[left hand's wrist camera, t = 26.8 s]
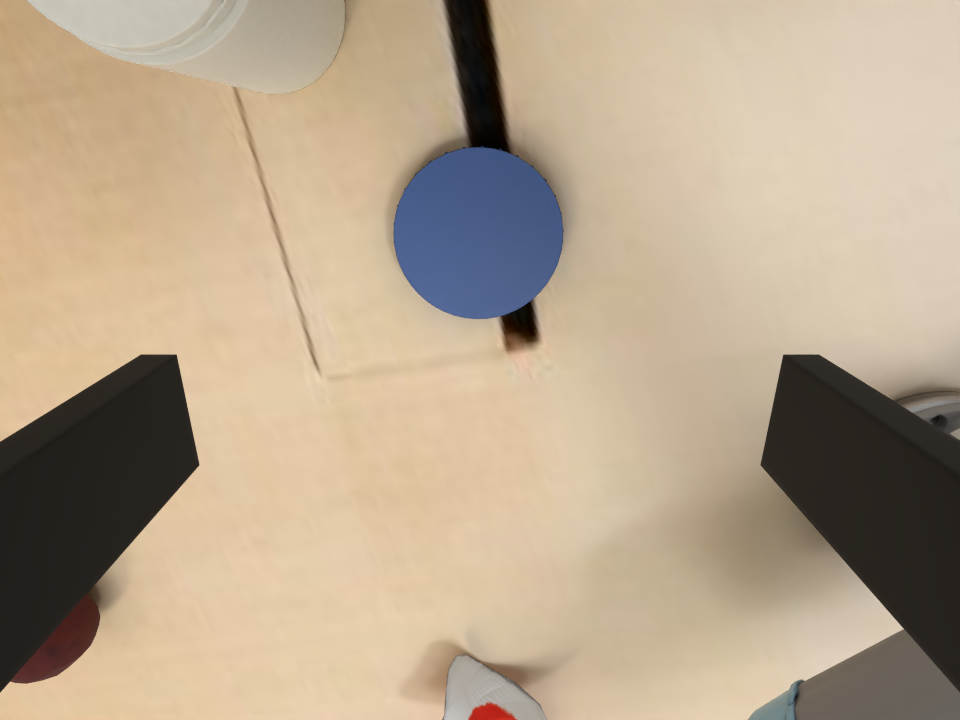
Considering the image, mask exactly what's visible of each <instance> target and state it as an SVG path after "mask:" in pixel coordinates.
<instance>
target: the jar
mask: <svg viewBox="0 0 960 720" xmlns="http://www.w3.org/2000/svg"><path fill="white" fill-rule="evenodd" d="M27 1H28V2H29V3H30V4H31V5H32V6H33V7H34V8H35V9H37V10H38V11H39V12H40V13H41V14H43V15H44V16H45V17H46V18H48V19H49V20H51V21H52V22H54V23H55V24H57V25H58V26H60V27H61V28H63V29H64V30H66V31H68V32H70V33H72V34H73V35H74V36H75V37H77V38H78V39H80V40H81V41H83V42H84V43H86V44H87V45H89V46H91V47H93V48H95V49H97V50H98V51H100V52H102V53H104V54H106V55H109V56H112V57H115V58H117V59H120V60H123V61H127V62H132V63H136V64H140V65H144V66H149V67H153V68H157V69H161V70H166V71H170V72H174V73H178V74H182V75H187V76H191V77H195V78H199V79H204V80H208V81H212V82H216V83H221V84H225V85H229V86H233V87H237V88H242V89H246V90H250V91H254V92H259V93H263V94H286V93H291V92H295V91H297V90H300V89H303V88H304V87H306V86H308V85H310V84H312V83H313V82H314V81H315V80H317V79H318V78H319V77H320V76H321V75H322V74H323V73H324V72H325V71H326V70H327V68H328V67H329V66H330V64H331V63H332V61H333V60H334V58H335V56H336V54H337V52H338V49H339V47H340V44H341V41H342V37H343V32H344V25H345V1H344V0H27Z"/></svg>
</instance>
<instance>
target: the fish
mask: <svg viewBox="0 0 960 720" xmlns="http://www.w3.org/2000/svg"><path fill="white" fill-rule="evenodd" d="M442 720H547V718H546V716H545V714H544V712H543V710H542V708H541V706H540V704H539V703H538V702H537V701H535V700H534V699H533V698H532V697H531V696H530V695H529V694H528V693H527V692H525V691H524V690H523V689H522V688H521V687H520V686H519V685H518V684H517V683H515V682H513V681H512V680H510V679H508V678H507V677H505V676H503V675H502V674H500V673H498V672H496V671H494V670H493V669H491V668H489V667H487V666H485V665H483V664H482V663H480V662H479V661H477V660H476V659H474V658H472V657H469V656H467V655H458V656H456V657H455V658H454V660H453V662H452V663H451V665H450V667H449V671H448V676H447V687H446V697H445V713H444V717H443V719H442Z"/></svg>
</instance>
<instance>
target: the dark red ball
mask: <svg viewBox="0 0 960 720" xmlns="http://www.w3.org/2000/svg"><path fill="white" fill-rule="evenodd" d="M99 621H100V614H99V610H98V607H97V605H96V603H95V601H94V600H93V599H92V598H91V596H90V595H89V594H86V595H85V596H84V597H83V599H82V600H81V601H80V602H79V603H78V604H77V605H76V607H75V608H74V609H73V610H72V611H71V612H70V613H69V615H68V616H67V617H66V618H65V619H64V620H63V621H62V623H61V624H60V625H59V626H58V627H57V628H56V629H55V631H54V632H53V633H52V634H51V635H50V636H49V637H48V639H47V640H46V641H45V642H44V643H43V644H42V645H41V647H40V648H39V649H38V650H37V651H36V652H35V653H34V654H33V656H32V657H31V658H30V659H29V660H28V661H27V662H26V664H25V665H24V666H23V667H22V668H21V669H20V670H19V672H18V673H17V674H16V675H15V676H14V677H13V678H12V680H11V682H14V683H26V684H27V683H32V682H37V681H42V680H45V679H48V678H51V677H54V676H57V675H58V674H60V673H61V672H63V671H64V670H65V669H67V668H68V667H69V666H70V665H71V664H73V663H74V662H75V661H76V660H77V659H78V658H79V657H80V656H81V655H82V654H83V653H84V652H85V651H86V650H87V649H88V648H89V647H90V645H91V644H92V642H93V640H94V637H95V635H96V632H97V629H98V626H99Z"/></svg>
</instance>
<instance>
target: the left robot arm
mask: <svg viewBox="0 0 960 720" xmlns="http://www.w3.org/2000/svg"><path fill="white" fill-rule="evenodd" d="M198 466H199V461H198V456H197V451H196V446H195V442H194V437H193V432H192V427H191V422H190V417H189V412H188V408H187V403H186V398H185V393H184V388H183V383H182V379H181V374H180V369H179V364H178V359H177V355H140V356H138V357H137V358H135V359H133V360H132V361H130V362H128V363H127V364H125V365H124V366H122V367H120V368H119V369H117V370H116V371H114V372H112V373H111V374H109V375H107V376H106V377H104V378H103V379H101V380H99V381H98V382H96V383H95V384H93V385H91V386H90V387H88V388H86V389H85V390H83V391H82V392H80V393H78V394H77V395H75V396H74V397H72V398H70V399H69V400H67V401H66V402H64V403H62V404H61V405H59V406H57V407H56V408H54V409H53V410H51V411H49V412H48V413H46V414H45V415H43V416H41V417H40V418H38V419H36V420H35V421H33V422H32V423H30V424H28V425H27V426H25V427H24V428H22V429H20V430H19V431H17V432H15V433H14V434H12V435H11V436H9V437H7V438H6V439H4V440H3V441H1V442H0V692H1V691H2V690H3V689H4V688H5V686H6V685H7V684H8V683H9V682H10V681H11V680H12V678H13V677H14V676H15V675H16V674H17V673H18V672H19V670H20V669H21V668H22V667H23V666H24V665H25V664H26V662H27V661H28V660H29V659H30V658H31V657H32V656H33V654H34V653H35V652H36V651H37V650H38V649H39V648H40V647H41V645H42V644H43V643H44V642H45V641H46V640H47V639H48V637H49V636H50V635H51V634H52V633H53V632H54V631H55V629H56V628H57V627H58V626H59V625H60V624H61V623H62V621H63V620H64V619H65V618H66V617H67V616H68V615H69V613H70V612H71V611H72V610H73V609H74V608H75V607H76V605H77V604H78V603H79V602H80V601H81V600H82V599H83V597H84V596H85V595H86V594H87V593H88V592H89V591H90V589H91V588H92V587H93V586H94V585H95V584H96V583H97V581H98V580H99V579H100V578H101V577H102V576H103V575H104V573H105V572H106V571H107V570H108V569H109V568H110V567H111V565H112V564H113V563H114V562H115V561H116V560H117V559H118V557H119V556H120V555H121V554H122V553H123V552H124V551H125V549H126V548H127V547H128V546H129V545H130V544H131V543H132V541H133V540H134V539H135V538H136V537H137V536H138V535H139V533H140V532H141V531H142V530H143V529H144V528H145V527H146V526H147V524H148V523H149V522H150V521H151V520H152V519H153V518H154V516H155V515H156V514H157V513H158V512H159V511H160V510H161V508H162V507H163V506H164V505H165V504H166V503H167V502H168V500H169V499H170V498H171V497H172V496H173V495H174V494H175V492H176V491H177V490H178V489H179V488H180V487H181V486H182V484H183V483H184V482H185V481H186V480H187V479H188V478H189V476H190V475H191V474H192V473H193V472H194V471H195V470H196V468H197V467H198ZM761 466H762V467H763V468H764V470H765V471H766V472H767V473H768V474H769V475H770V476H771V478H772V479H773V480H774V481H775V482H776V483H777V484H778V486H779V487H780V488H781V489H782V490H783V491H784V492H785V494H786V495H787V496H788V497H789V498H790V499H791V500H792V502H793V503H794V504H795V505H796V506H797V507H798V508H799V510H800V511H801V512H802V513H803V514H804V515H805V516H806V518H807V519H808V520H809V521H810V522H811V523H812V524H813V526H814V527H815V528H816V529H817V530H818V531H819V532H820V533H821V535H822V536H823V537H824V538H825V539H826V540H827V541H828V543H829V544H830V545H831V546H832V547H833V548H834V549H835V551H836V552H837V553H838V554H839V555H840V556H841V557H842V559H843V560H844V561H845V562H846V563H847V564H848V565H849V567H850V568H851V569H852V570H853V571H854V572H855V573H856V575H857V576H858V577H859V578H860V579H861V580H862V581H863V583H864V584H865V585H866V586H867V587H868V588H869V589H870V591H871V592H872V593H873V594H874V595H875V596H876V597H877V599H878V600H879V601H880V602H881V603H882V604H883V605H884V607H885V608H886V609H887V610H888V611H889V612H890V613H891V615H892V616H893V617H894V618H895V619H896V620H897V621H898V623H899V624H900V625H901V626H902V627H903V628H904V630H902V631H900V632H898V633H896V634H894V635H892V636H890V637H888V638H886V639H884V640H883V641H881V642H879V643H877V644H875V645H873V646H871V647H869V648H867V649H865V650H864V651H862V652H860V653H858V654H856V655H854V656H852V657H850V658H848V659H846V660H845V661H843V662H841V663H839V664H837V665H835V666H833V667H831V668H829V669H827V670H826V671H824V672H822V673H820V674H818V675H816V676H814V677H812V678H810V679H808V680H806V681H804V680H802V679H801V680H798V681H796V682H794V683H793V684H792V685H791V687H790V689H789V690H788V691H786V692H785V693H783V694H781V695H780V696H778V697H777V698H775V699H773V700H772V701H770V702H769V703H767V704H765V705H764V706H762V707H760V708H759V709H757V710H756V711H755V712H754V713H753V714H752V715H751V716H750V718H749V719H748V720H960V392H931V393H925V394H919V395H915V396H911V397H908V398H905V399H901V400H899V401H896V402H894V401H893V400H891V399H890V398H888V397H886V396H885V395H883V394H882V393H880V392H878V391H877V390H875V389H874V388H872V387H870V386H869V385H867V384H865V383H864V382H862V381H861V380H859V379H857V378H856V377H854V376H853V375H851V374H849V373H848V372H846V371H844V370H843V369H841V368H840V367H838V366H836V365H835V364H833V363H832V362H830V361H828V360H827V359H825V358H823V357H822V356H820V355H783V359H782V364H781V369H780V374H779V379H778V383H777V388H776V393H775V398H774V403H773V408H772V412H771V417H770V422H769V427H768V432H767V437H766V441H765V446H764V451H763V456H762V461H761Z"/></svg>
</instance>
